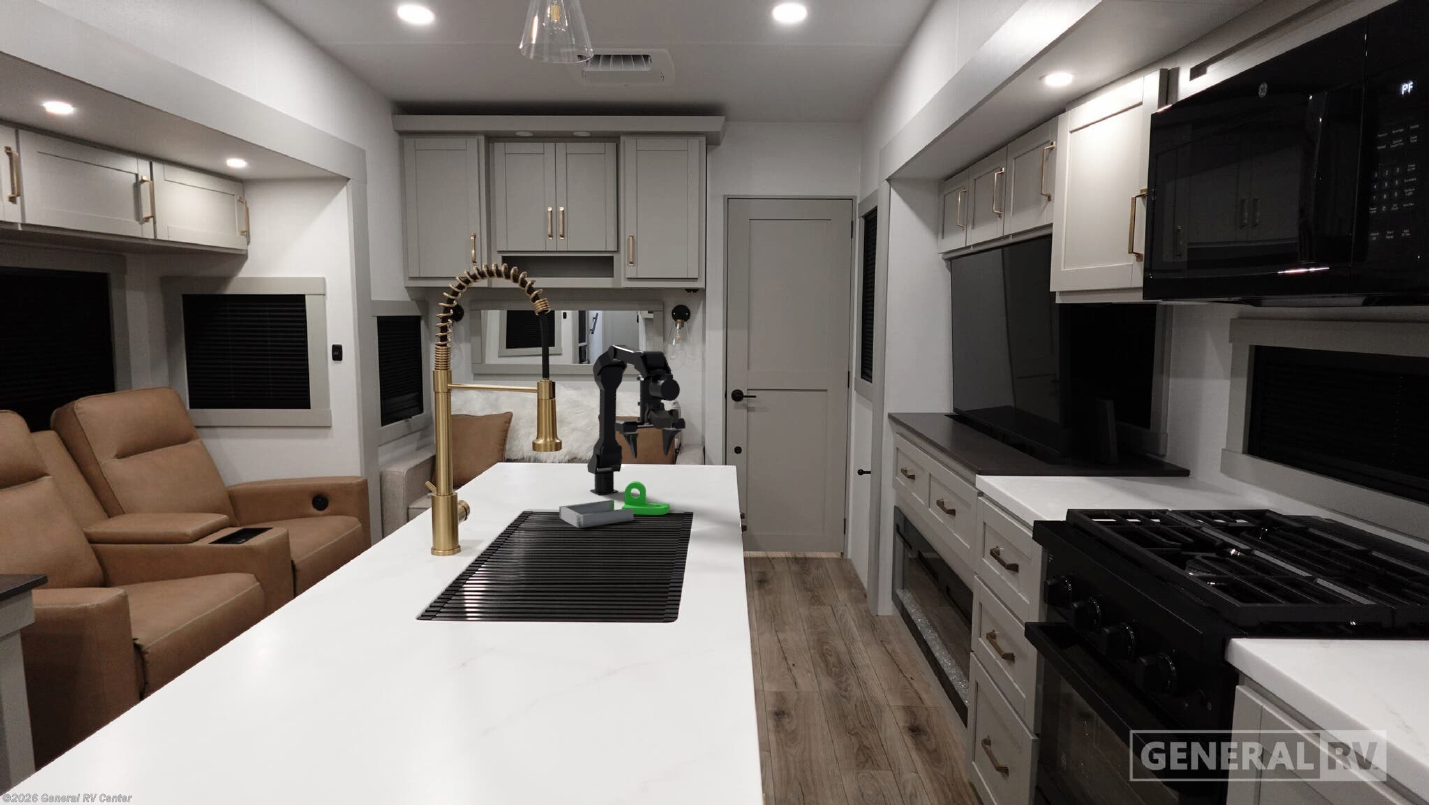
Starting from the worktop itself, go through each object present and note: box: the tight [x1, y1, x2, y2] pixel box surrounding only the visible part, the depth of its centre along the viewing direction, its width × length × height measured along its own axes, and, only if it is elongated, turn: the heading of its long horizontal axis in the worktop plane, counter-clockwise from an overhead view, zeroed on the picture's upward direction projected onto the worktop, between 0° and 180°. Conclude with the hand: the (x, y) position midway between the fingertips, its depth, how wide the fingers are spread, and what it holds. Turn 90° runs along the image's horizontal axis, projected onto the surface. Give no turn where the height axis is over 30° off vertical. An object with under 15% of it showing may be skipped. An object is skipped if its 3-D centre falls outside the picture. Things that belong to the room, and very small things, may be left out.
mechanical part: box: [621, 480, 670, 516], centre depth 201 cm, size 12×6×8 cm, turn 85°
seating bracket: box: [558, 499, 634, 529], centre depth 193 cm, size 12×15×3 cm
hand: (650, 456), depth 199 cm, fingers open, 9 cm apart
